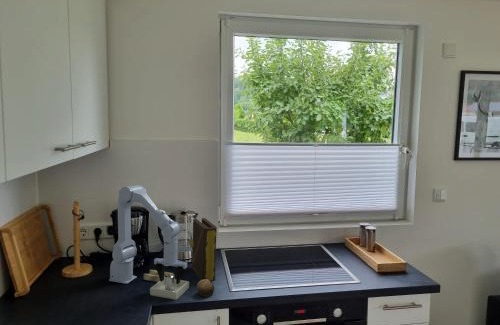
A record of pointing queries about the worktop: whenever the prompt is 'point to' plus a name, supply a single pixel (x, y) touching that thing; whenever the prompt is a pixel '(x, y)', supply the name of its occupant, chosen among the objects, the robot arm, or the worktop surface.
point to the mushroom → (205, 287)
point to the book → (204, 249)
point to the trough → (154, 275)
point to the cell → (170, 282)
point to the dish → (161, 292)
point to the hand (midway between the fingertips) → (170, 282)
